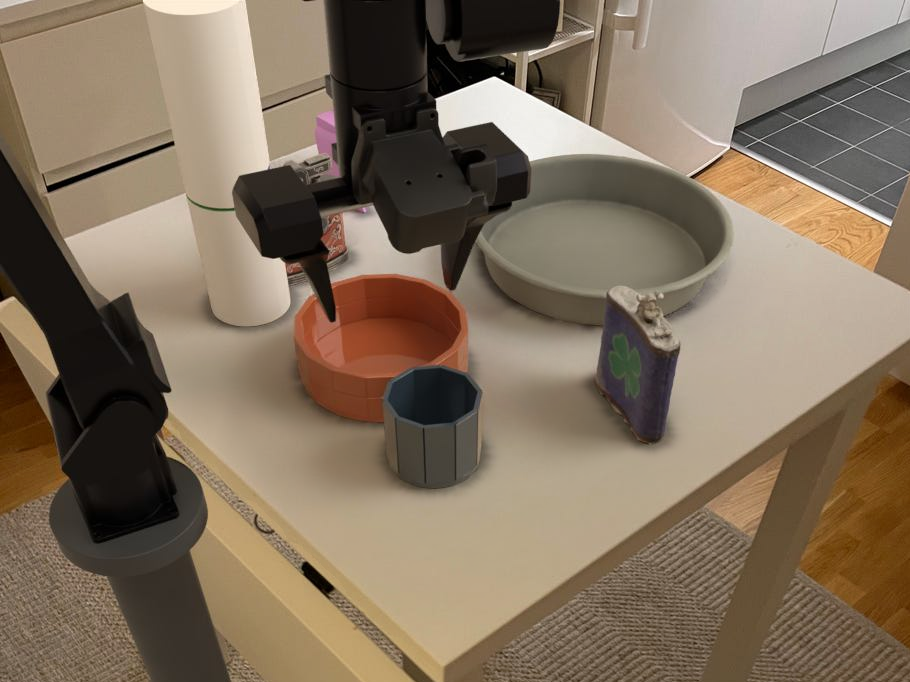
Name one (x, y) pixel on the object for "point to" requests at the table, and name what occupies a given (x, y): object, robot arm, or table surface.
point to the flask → (637, 361)
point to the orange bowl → (376, 340)
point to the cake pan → (605, 236)
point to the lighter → (331, 224)
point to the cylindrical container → (218, 146)
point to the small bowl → (433, 425)
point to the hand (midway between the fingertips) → (391, 303)
